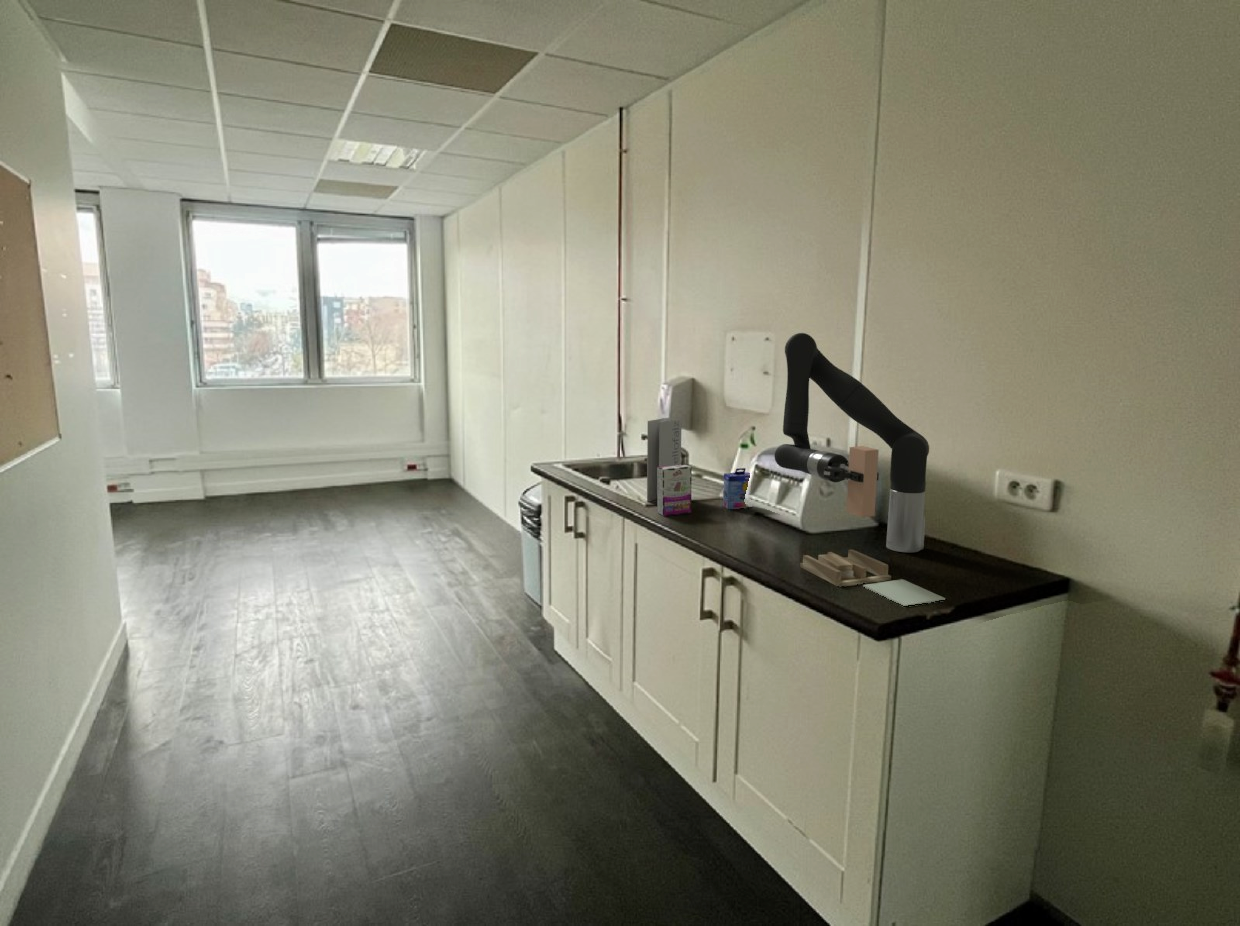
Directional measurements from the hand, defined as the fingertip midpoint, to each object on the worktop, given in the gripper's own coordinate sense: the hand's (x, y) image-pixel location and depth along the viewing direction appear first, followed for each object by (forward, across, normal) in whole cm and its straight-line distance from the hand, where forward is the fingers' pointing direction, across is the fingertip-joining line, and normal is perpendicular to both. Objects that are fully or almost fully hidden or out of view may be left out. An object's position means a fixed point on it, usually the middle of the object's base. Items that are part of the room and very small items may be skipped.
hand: (869, 477), depth 176 cm
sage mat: (+14, 0, +26) cm, 29 cm away
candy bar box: (-75, -19, +25) cm, 81 cm away
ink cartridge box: (-75, +6, +26) cm, 79 cm away
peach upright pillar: (-3, 0, +10) cm, 10 cm away
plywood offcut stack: (-3, -7, +26) cm, 27 cm away
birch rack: (-3, -4, +25) cm, 26 cm away
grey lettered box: (-95, -14, +25) cm, 99 cm away
